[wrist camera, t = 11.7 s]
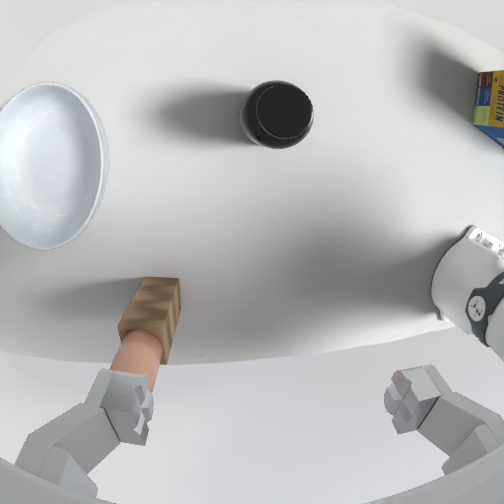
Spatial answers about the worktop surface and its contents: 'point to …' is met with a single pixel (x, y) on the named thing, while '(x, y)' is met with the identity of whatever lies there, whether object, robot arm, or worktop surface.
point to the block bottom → (163, 288)
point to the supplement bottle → (276, 115)
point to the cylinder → (139, 355)
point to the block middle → (157, 304)
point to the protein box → (490, 105)
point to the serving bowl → (50, 165)
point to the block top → (148, 326)
